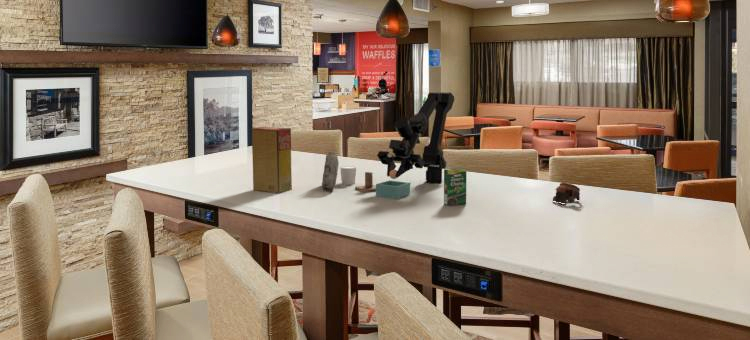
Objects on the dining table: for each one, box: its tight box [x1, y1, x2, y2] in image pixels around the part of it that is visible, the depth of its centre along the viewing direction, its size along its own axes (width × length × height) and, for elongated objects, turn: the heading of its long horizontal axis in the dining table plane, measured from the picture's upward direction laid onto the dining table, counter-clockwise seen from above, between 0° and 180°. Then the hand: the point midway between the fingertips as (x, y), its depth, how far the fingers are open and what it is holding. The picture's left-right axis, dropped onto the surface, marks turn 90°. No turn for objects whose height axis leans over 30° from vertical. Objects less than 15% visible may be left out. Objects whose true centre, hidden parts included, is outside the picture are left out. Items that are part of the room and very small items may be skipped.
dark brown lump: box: [552, 182, 581, 204], centre depth 210 cm, size 12×10×8 cm
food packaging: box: [251, 126, 293, 194], centre depth 230 cm, size 13×9×25 cm
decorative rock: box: [321, 151, 339, 190], centre depth 234 cm, size 16×7×15 cm, turn 0°
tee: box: [354, 171, 376, 193], centre depth 232 cm, size 8×8×7 cm
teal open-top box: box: [375, 179, 411, 200], centre depth 222 cm, size 10×10×4 cm
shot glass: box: [339, 165, 357, 186], centre depth 245 cm, size 7×7×7 cm
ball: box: [389, 169, 398, 180], centre depth 222 cm, size 4×4×4 cm
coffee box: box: [443, 167, 467, 207], centre depth 206 cm, size 8×3×13 cm, turn 111°
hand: (391, 176), depth 221 cm, fingers closed on ball, 4 cm apart
